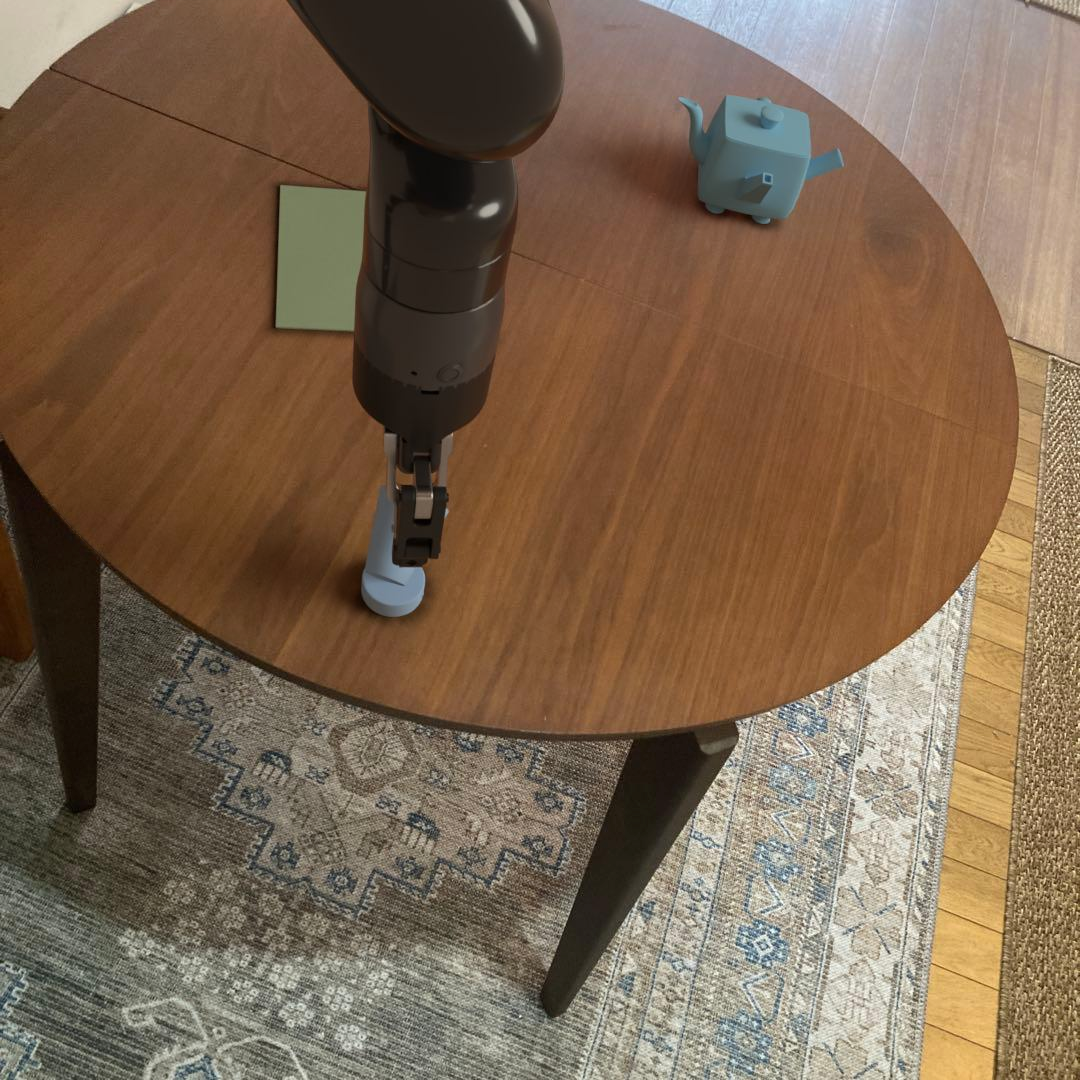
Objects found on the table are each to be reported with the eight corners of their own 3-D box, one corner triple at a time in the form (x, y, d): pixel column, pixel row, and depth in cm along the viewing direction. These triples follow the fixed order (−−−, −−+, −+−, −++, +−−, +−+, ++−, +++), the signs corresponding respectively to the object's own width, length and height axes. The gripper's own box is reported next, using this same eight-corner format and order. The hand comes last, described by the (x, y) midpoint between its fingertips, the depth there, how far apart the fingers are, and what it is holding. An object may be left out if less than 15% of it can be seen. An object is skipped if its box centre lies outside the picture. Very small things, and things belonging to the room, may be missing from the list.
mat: (275, 328, 87) (275, 326, 87) (280, 186, 97) (280, 184, 96) (487, 337, 91) (487, 336, 91) (471, 200, 100) (472, 199, 100)
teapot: (815, 178, 113) (855, 95, 104) (822, 264, 105) (865, 182, 96) (655, 141, 111) (683, 53, 103) (649, 226, 103) (678, 138, 95)
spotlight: (379, 537, 78) (344, 612, 74) (388, 456, 70) (348, 535, 66) (442, 559, 78) (410, 635, 74) (457, 480, 69) (422, 561, 66)
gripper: (352, 230, 57) (346, 418, 70) (356, 434, 49) (348, 601, 63) (487, 238, 59) (456, 421, 72) (511, 437, 51) (471, 600, 64)
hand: (406, 505), depth 67 cm, fingers open, 8 cm apart
